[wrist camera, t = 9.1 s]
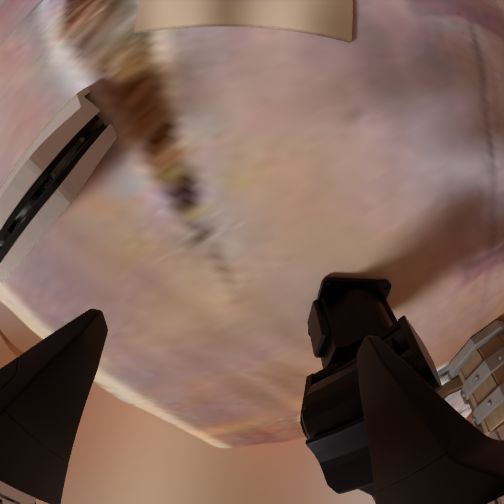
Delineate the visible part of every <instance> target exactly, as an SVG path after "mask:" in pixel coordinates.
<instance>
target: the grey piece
mask: <svg viewBox="0 0 504 504" xmlns="http://www.w3.org/2000/svg"><path fill="white" fill-rule="evenodd" d="M89 92H90V90H89V89H88V88H87V87H86V88H85V89H83V90H82V91H80V92H78V93H77V94H76V95H75V96H74V97H73V98H72V99H71V100H70V101H69V102H68V103H67V104H66V105H65V106H64V107H63V108H62V109H61V110H60V111H59V113H58V114H57V115H56V116H55V117H54V118H53V119H52V120H51V121H50V122H49V124H48V125H47V126H46V127H45V128H44V129H43V131H42V132H41V133H40V134H39V135H38V137H37V138H36V139H35V140H34V142H33V143H32V144H31V145H30V147H29V148H28V149H27V151H26V152H25V153H24V155H23V156H22V157H21V159H20V160H19V162H18V163H17V164H16V166H15V167H14V169H13V170H12V172H11V173H10V175H9V176H8V178H7V179H6V181H5V182H4V184H3V186H2V187H1V189H0V283H2V282H3V281H4V280H5V279H6V278H7V277H8V276H9V275H10V274H11V273H12V272H13V271H14V270H15V269H16V267H17V266H18V265H19V264H20V263H21V261H22V260H23V259H24V258H25V257H26V255H27V254H28V253H29V252H30V250H31V249H32V248H33V247H34V246H35V244H36V243H37V242H38V241H39V240H40V238H41V237H42V236H43V235H44V234H45V233H46V231H47V230H48V229H49V228H50V227H51V225H52V224H53V223H54V222H55V221H56V219H57V218H58V217H59V216H60V215H61V214H62V213H63V212H64V210H65V209H66V208H67V207H68V206H69V205H70V204H71V203H72V201H73V200H74V199H75V197H76V196H77V195H78V194H79V192H80V191H81V189H82V187H83V186H84V184H85V183H86V181H87V180H88V178H89V177H90V175H91V174H92V172H93V171H94V169H95V168H96V166H97V165H98V163H99V162H100V161H101V159H102V158H103V156H104V155H105V154H106V152H107V151H108V150H109V148H110V147H111V146H112V144H113V143H114V142H115V140H116V139H117V136H116V132H115V130H114V128H113V126H112V124H110V125H108V126H107V127H106V126H105V125H104V123H103V124H102V125H101V126H100V127H98V128H97V129H96V130H95V131H94V132H93V133H92V134H90V135H89V136H88V137H87V138H83V137H82V136H83V135H84V134H85V133H86V132H87V131H88V130H89V129H90V128H91V127H92V126H93V125H94V124H95V123H96V122H97V121H98V120H99V117H98V116H97V115H96V114H97V113H98V112H99V111H101V110H99V109H98V108H97V107H96V106H95V105H93V104H92V103H91V102H90V101H89V100H88V99H86V98H85V96H86V95H87V94H88V93H89ZM49 175H50V176H51V177H52V178H53V180H52V181H51V183H50V184H49V186H48V187H47V188H46V190H45V191H44V192H43V193H42V194H41V195H40V196H34V195H33V194H34V193H35V192H36V190H37V189H38V188H39V187H40V186H41V184H42V183H43V182H44V181H45V179H46V178H47V177H48V176H49ZM14 220H16V222H15V221H14Z"/></svg>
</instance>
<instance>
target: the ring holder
mask: <svg viewBox="0 0 504 504" xmlns="http://www.w3.org/2000/svg"><path fill="white" fill-rule="evenodd" d="M352 21H353V0H139V4H138V10H137V15H136V21H135V28H134V32H135V33H143V32H149V31H156V30H164V29H173V28H185V27H202V26H242V27H259V28H271V29H280V30H288V31H296V32H302V33H308V34H314V35H319V36H324V37H329V38H333V39H337V40H342V41H346V42H351V41H352Z"/></svg>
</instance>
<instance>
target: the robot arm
mask: <svg viewBox="0 0 504 504" xmlns="http://www.w3.org/2000/svg"><path fill="white" fill-rule="evenodd" d="M327 283H330V284H328V285H326V284H327ZM386 285H387V286H386ZM384 286H386V287H384ZM390 289H391V283H390V282H389V281H388V280H376V279H353V278H333V277H327V278H324V279H323V280H322V282H321V286H320V290H319V293H318V297H317V300H315V301H314V302H313V305H312V308H311V312H310V315H309V319H308V327H309V328H308V334H309V336H310V337H311V342H312V347H313V352H314V355H315V357H317V358H321V361H322V366H323V369H322V370H320V371H319V372H317V373H315V374H311V375H309V376H307V379H306V385H305V391H304V398H303V404H302V409H301V417H300V419H301V421H300V423H301V426H302V429H303V432H304V434H305V436H306V438H307V440H306V445H307V446H308V447H309V448H310V450H311V451H312V452H313V453H314V455H315V457H316V458H317V460H318V462H319V463H320V466H321V468H322V471H323V473H324V476H325V479H326V482H327V484H328V486H329V487H330V488H332V489H333V490H334V491H335V492H336V493H338V494H341V493H345V492H349V491H352V490H355V489H359V490H361V491H363V492H365V493H367V494H370V495H371V496H372V497H373V499H374V500H375V502H376V504H504V440H495V439H492V438H490V437H488V436H486V435H485V434H484V433H482V432H481V431H480V430H479V429H477V428H476V427H475V426H474V425H473V424H471V423H470V422H469V421H468V420H466V419H465V418H464V417H463V416H462V415H460V414H459V413H458V412H457V411H456V410H455V409H454V408H453V407H452V406H451V405H449V404H448V403H447V402H446V401H445V400H444V399H443V398H441V396H440V395H439V394H438V392H440V391H441V390H443V388H442V385H441V382H440V379H439V376H438V373H437V370H436V367H435V365H434V362H433V360H432V358H431V356H430V355H429V353H428V351H427V349H426V347H425V345H424V344H423V342H422V340H421V339H420V337H419V336H418V334H417V333H416V331H415V330H414V328H413V327H412V326H411V324H410V323H409V321H408V320H407V319H406V317H405V316H402V317H401V318H400V319H398V321H397V319H396V317H395V316H394V314H393V312H392V310H391V308H390V306H389V305H388V303H387V301H386V298H387V296H388V294H389V291H390ZM107 332H108V329H107V325H106V321H105V318H104V315H103V312H102V311H100V310H97V309H90V310H88V311H86V312H85V313H83V314H82V315H80V316H79V317H77V318H75V319H74V320H72V321H71V322H69V323H68V324H66V325H65V326H63V327H62V328H60V329H58V330H57V331H55V332H54V333H52V334H51V335H49V336H48V337H46V338H45V339H43V340H42V341H40V342H39V343H37V344H36V345H35V346H33V347H32V348H30V349H29V350H27V351H26V352H24V353H23V354H21V355H20V356H19V357H17V358H16V359H14V360H13V361H11V362H10V363H8V364H7V365H5V366H4V367H2V368H1V369H0V504H36V502H35V500H36V498H37V499H39V500H42V501H44V502H47V503H49V504H61V497H62V492H63V487H64V482H65V477H66V473H67V468H68V463H69V459H70V455H71V451H72V447H73V443H74V440H75V436H76V433H77V429H78V426H79V422H80V419H81V416H82V413H83V410H84V407H85V403H86V400H87V397H88V395H89V392H90V389H91V386H92V383H93V380H94V378H95V375H96V372H97V369H98V366H99V362H100V358H101V354H102V351H103V347H104V343H105V340H106V336H107Z"/></svg>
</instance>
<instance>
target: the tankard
mask: <svg viewBox="0 0 504 504" xmlns="http://www.w3.org/2000/svg"><path fill="white" fill-rule="evenodd" d="M448 379H449V382H447V383H445V384H444V385H443V386H442V388H443V390H441V391H440V392H438V394H439V395H440V396H441V398H443V399H445V398H446V397H447V396H448V395H450V394H452V393H454V392H457V391H459V390H461V389H462V390H461V394H460V395H461V397H462V399H463V401H464V404H469V405H470V407H471V409H472V412H473V414H472V416H471V420H472V423H473V425H474V426H475V427H476V428H477V429H479V430H480V431H481V432H482V433H484V434H485V435H486V436H489V435H491V434H493V433H494V432H496V431H497V430H499V429H500V428H502V427H503V426H504V321H498V320H495V321H493V322H492V323H491V324H489V325H488V326H487V327H485V328H484V329H483V330H481V331H480V332H478V333H477V334H475V335H474V336H473V337H471V338H470V339H469V340H468V342H467V343H466V344H465V345H464V346H463V348H462V349H461V350H460V351H459V352H458V354H457V355H456V356H455V357H454V358H453V359H452V360H451V362H450V364H449V372H448Z"/></svg>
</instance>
